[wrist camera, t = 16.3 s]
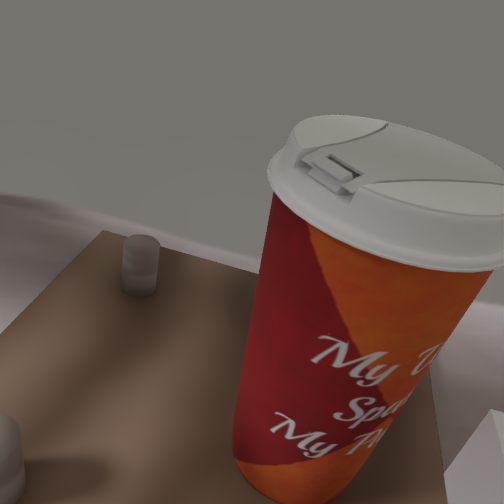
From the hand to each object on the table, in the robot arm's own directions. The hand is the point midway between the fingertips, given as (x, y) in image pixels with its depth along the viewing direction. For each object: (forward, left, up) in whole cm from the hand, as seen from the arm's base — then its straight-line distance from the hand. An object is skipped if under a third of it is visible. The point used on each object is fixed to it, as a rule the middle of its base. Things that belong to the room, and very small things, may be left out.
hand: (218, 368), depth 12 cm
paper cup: (+4, +5, -9) cm, 11 cm away
